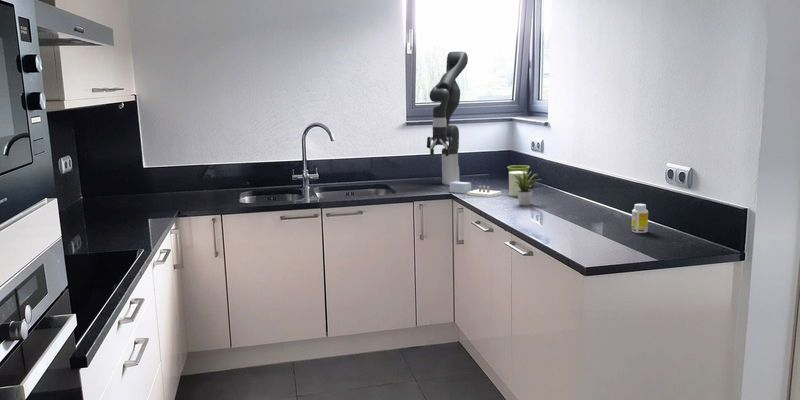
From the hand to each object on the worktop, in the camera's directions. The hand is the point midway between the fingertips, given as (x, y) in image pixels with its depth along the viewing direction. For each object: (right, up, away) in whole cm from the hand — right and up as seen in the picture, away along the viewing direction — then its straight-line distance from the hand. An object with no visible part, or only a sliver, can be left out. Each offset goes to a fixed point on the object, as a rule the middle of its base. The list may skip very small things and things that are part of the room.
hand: (439, 156), depth 344 cm
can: (+38, -22, -26) cm, 51 cm away
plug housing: (+10, -20, -12) cm, 25 cm away
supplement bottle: (+67, -36, -110) cm, 134 cm away
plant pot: (+42, -17, -3) cm, 46 cm away
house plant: (+36, -26, -52) cm, 68 cm away
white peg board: (+21, -21, -22) cm, 37 cm away
